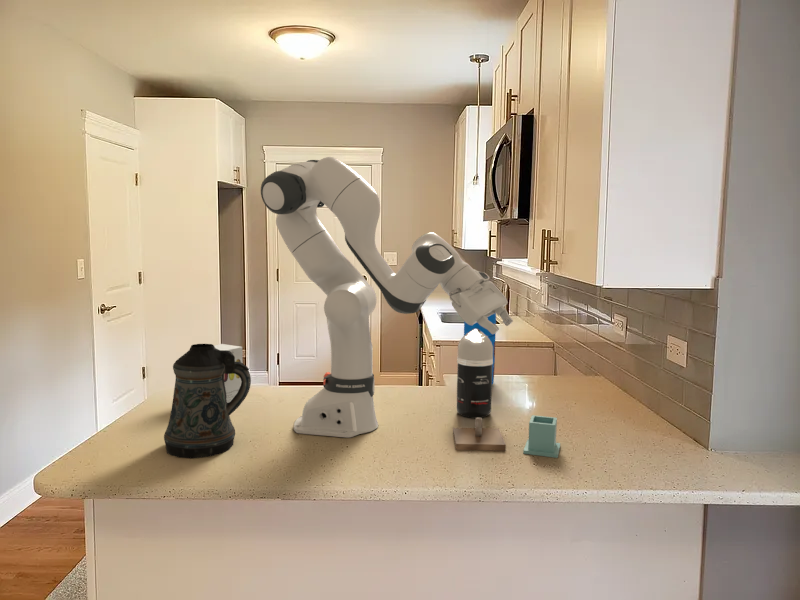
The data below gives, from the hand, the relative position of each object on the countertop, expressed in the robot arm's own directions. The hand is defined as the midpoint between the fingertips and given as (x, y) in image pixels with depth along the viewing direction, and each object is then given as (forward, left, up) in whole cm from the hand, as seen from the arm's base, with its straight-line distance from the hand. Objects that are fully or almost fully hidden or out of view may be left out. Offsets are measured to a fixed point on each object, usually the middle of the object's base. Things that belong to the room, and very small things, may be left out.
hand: (503, 327), depth 146 cm
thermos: (+1, +63, -30) cm, 70 cm away
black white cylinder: (-4, +27, -30) cm, 40 cm away
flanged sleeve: (+10, -1, -30) cm, 31 cm away
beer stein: (-72, -2, -30) cm, 78 cm away
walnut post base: (-5, +4, -30) cm, 30 cm away
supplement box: (-80, +35, -30) cm, 92 cm away
